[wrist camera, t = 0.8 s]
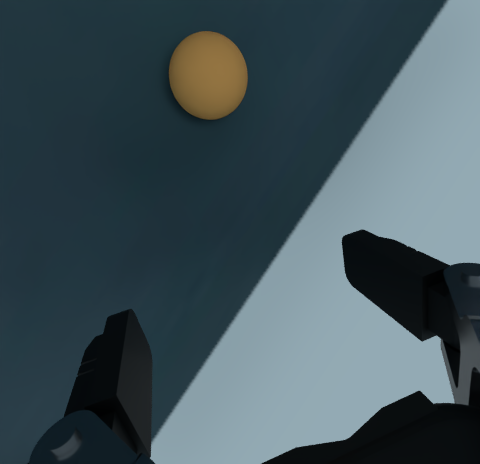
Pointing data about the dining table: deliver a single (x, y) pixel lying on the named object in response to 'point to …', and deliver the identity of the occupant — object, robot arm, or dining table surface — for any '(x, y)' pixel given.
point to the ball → (208, 75)
